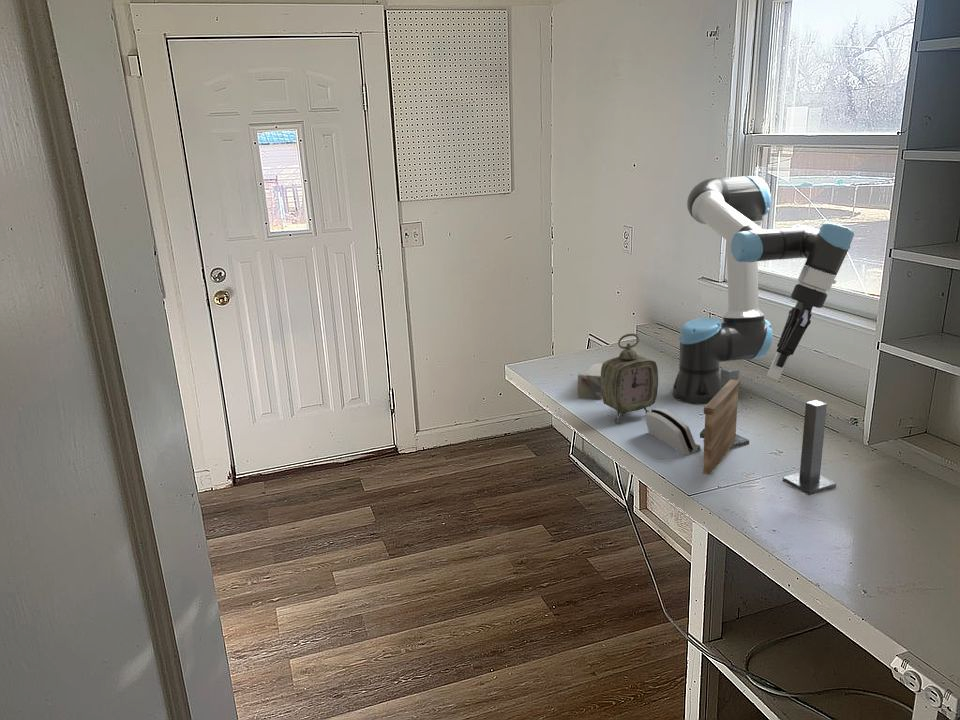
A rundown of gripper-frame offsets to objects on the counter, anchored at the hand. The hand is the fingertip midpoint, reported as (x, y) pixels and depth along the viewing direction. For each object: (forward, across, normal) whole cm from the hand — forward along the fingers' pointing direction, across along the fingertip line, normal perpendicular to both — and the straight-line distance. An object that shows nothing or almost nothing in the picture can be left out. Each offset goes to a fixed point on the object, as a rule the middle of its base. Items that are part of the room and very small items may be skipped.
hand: (772, 377), depth 184 cm
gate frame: (+19, -5, -5) cm, 21 cm away
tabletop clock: (+28, +21, +27) cm, 45 cm away
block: (+30, +44, +38) cm, 65 cm away
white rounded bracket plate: (+26, +4, +16) cm, 31 cm away
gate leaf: (+22, -7, +6) cm, 24 cm away
